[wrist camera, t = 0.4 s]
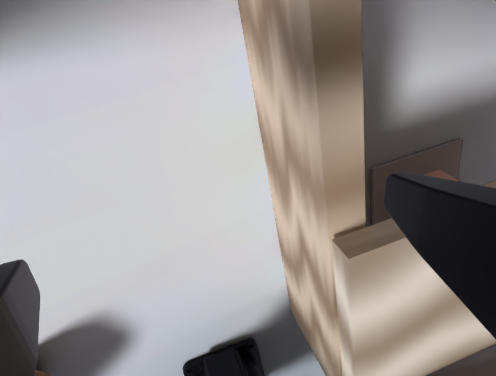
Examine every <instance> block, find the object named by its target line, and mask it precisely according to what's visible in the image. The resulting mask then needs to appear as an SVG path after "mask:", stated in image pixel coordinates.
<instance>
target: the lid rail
mask: <svg viewBox="0 0 496 376" xmlns="http://www.w3.org/2000/svg"><path fill="white" fill-rule="evenodd" d="M238 4H239V9H240V15H241V21H242V27H243V33H244V39H245V44H246V50H247V56H248V62H249V68H250V74H251V79H252V85H253V91H254V97H255V103H256V108H257V114H258V120H259V126H260V132H261V138H262V143H263V149H264V155H265V161H266V167H267V172H268V178H269V184H270V190H271V196H272V202H273V207H274V213H275V219H276V225H277V231H278V236H279V242H280V248H281V254H282V260H283V266H284V271H285V277H286V283H287V289H288V295H289V301H290V306H291V312H292V315H293V317H294V319H295V320H296V322H297V324H298V326H299V328H300V329H301V331H302V333H303V335H304V337H305V339H306V340H307V342H308V344H309V346H310V348H311V349H312V351H313V353H314V355H315V357H316V359H317V360H318V362H319V364H320V366H321V368H322V369H323V371H324V373H325V375H326V376H342V363H341V351H340V338H339V325H338V312H337V300H336V287H335V274H334V261H333V249H332V240H333V239H335V238H338V237H341V236H343V235H346V234H349V233H352V232H354V231H357V230H360V229H363V228H365V227H366V219H365V163H364V108H363V53H362V0H238Z"/></svg>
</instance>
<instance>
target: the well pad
mask: <svg viewBox="0 0 496 376" xmlns="http://www.w3.org/2000/svg"><path fill="white" fill-rule="evenodd" d="M462 143H463V140H462V139H457V140H454V141H451V142H448V143H445V144H442V145H439V146H436V147H433V148H430V149H427V150H424V151H421V152H418V153H415V154H412V155H409V156H406V157H403V158H400V159H397V160H394V161H391V162H388V163H385V164H382V165H379V166H376V167H373V168H371V225H374V224H376V223H379V222H382V221H385V220H387V219H390V218H392V217H391V216H390V215H389V213H388V212H387V211H386V209H385V207H384V202H383V200H384V191H385V182H386V178H387V176H388V175H389V174H391V173H395V172H400V171H405V172H410V173H416V174H421V175H424V174H427V173H430V172H433V171H436V170H441V171H443V172H445V173H446V174H448V175H450V176H452V177H454V178H455V179H457V180H458V174H459V166H460V158H461V151H462Z"/></svg>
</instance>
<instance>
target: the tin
mask: <svg viewBox="0 0 496 376" xmlns="http://www.w3.org/2000/svg"><path fill="white" fill-rule="evenodd" d="M35 376H52V375H50V374H48V373H45V372H42V371H38V370H35Z"/></svg>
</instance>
